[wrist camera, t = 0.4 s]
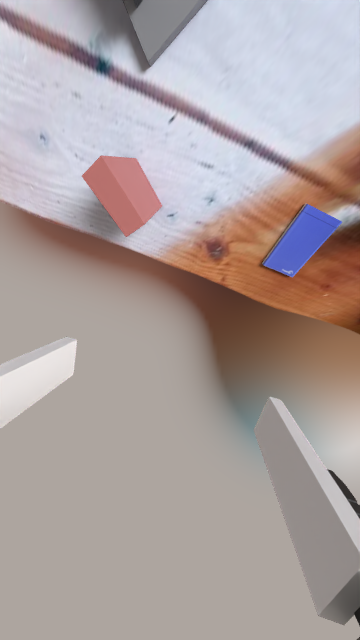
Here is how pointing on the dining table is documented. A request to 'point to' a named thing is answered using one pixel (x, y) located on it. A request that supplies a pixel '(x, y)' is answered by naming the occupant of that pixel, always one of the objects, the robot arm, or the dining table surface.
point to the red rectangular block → (123, 191)
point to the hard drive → (301, 240)
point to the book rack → (160, 22)
